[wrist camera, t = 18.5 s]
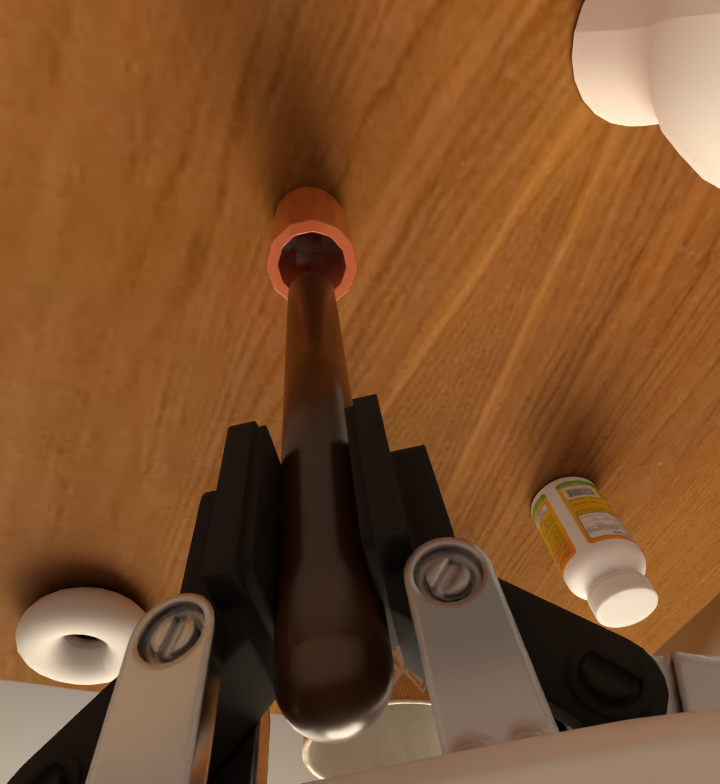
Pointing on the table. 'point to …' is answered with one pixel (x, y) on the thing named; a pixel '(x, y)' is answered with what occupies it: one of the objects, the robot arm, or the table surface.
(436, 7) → the table surface
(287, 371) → the stick
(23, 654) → the donut
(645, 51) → the cup
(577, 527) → the supplement bottle
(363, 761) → the planter
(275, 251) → the holder
